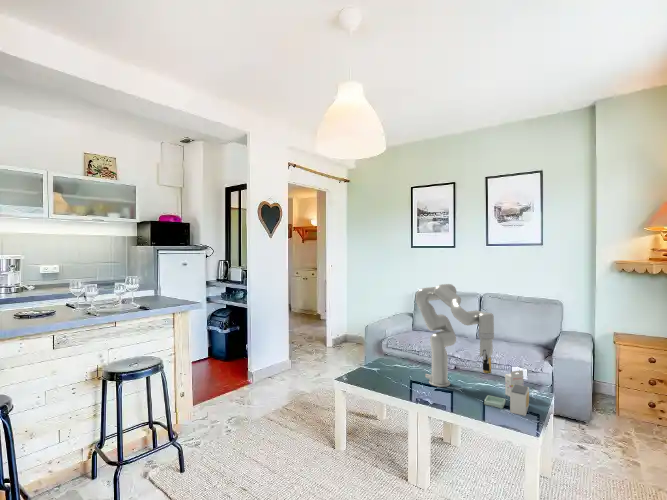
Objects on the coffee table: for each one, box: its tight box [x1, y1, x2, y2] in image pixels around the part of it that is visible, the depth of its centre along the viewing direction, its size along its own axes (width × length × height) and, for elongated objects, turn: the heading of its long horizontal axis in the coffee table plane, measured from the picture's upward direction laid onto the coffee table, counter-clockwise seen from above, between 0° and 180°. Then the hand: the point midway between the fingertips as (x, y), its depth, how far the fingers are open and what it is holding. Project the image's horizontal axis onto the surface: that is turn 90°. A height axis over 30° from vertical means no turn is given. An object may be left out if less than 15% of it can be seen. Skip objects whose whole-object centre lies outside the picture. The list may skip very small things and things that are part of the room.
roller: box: [482, 356, 492, 375], centre depth 198 cm, size 4×4×8 cm
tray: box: [483, 394, 507, 410], centre depth 197 cm, size 9×9×2 cm
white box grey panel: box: [509, 384, 530, 417], centre depth 190 cm, size 7×14×11 cm, turn 146°
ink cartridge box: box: [504, 370, 524, 397], centre depth 208 cm, size 9×5×15 cm, turn 105°
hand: (487, 369), depth 198 cm, fingers closed on roller, 4 cm apart
